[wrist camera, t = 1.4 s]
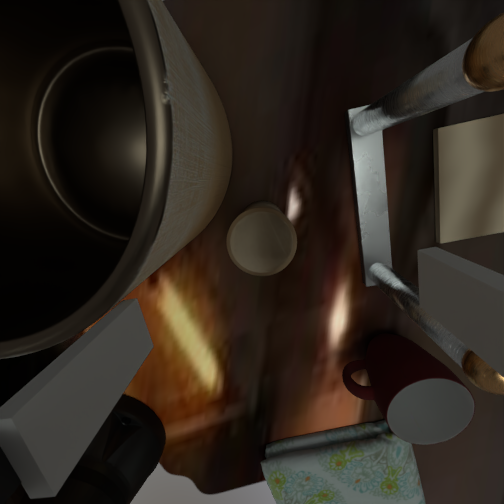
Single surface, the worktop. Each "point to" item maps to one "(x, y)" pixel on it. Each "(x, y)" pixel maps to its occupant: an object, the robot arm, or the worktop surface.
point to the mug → (412, 391)
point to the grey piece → (374, 183)
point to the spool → (261, 239)
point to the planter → (97, 159)
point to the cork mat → (469, 179)
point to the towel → (343, 467)
